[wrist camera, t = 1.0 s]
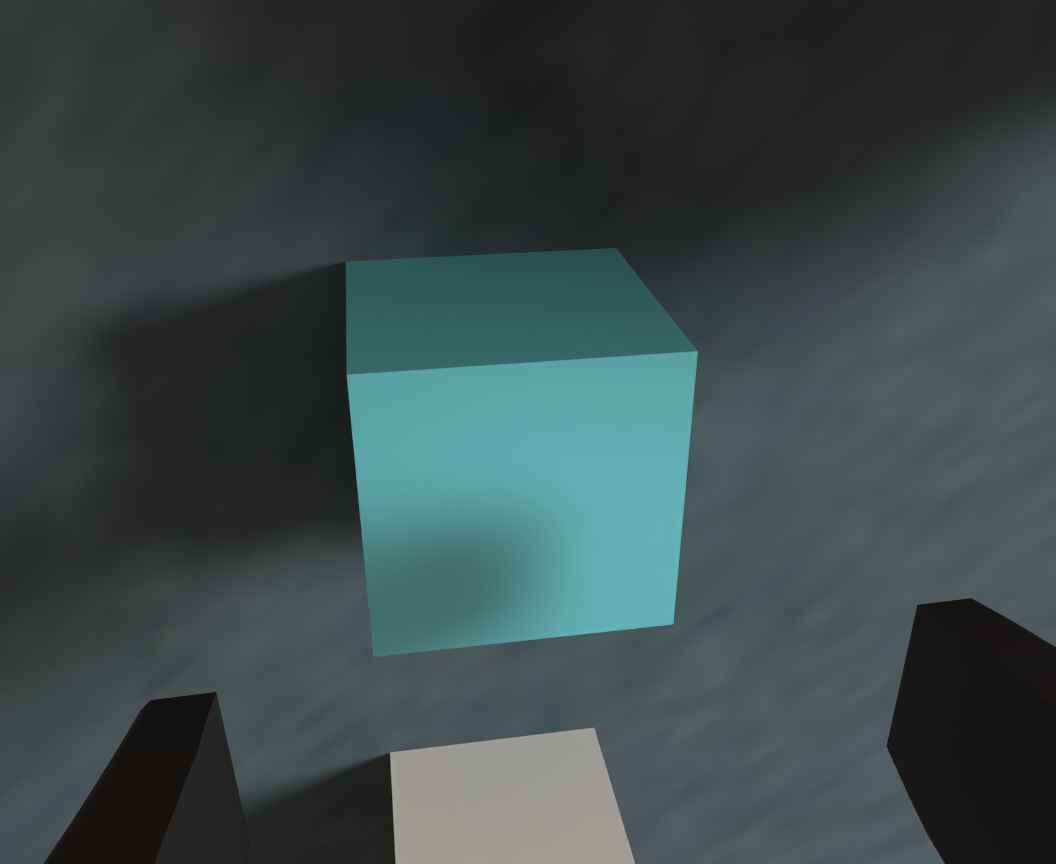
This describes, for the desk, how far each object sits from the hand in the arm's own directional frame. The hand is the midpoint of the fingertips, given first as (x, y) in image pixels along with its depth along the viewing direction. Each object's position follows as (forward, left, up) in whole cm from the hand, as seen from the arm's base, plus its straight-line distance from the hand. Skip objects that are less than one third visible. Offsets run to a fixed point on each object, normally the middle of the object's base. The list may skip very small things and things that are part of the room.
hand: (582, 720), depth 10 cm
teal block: (0, 0, -8) cm, 8 cm away
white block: (0, +11, -8) cm, 14 cm away
